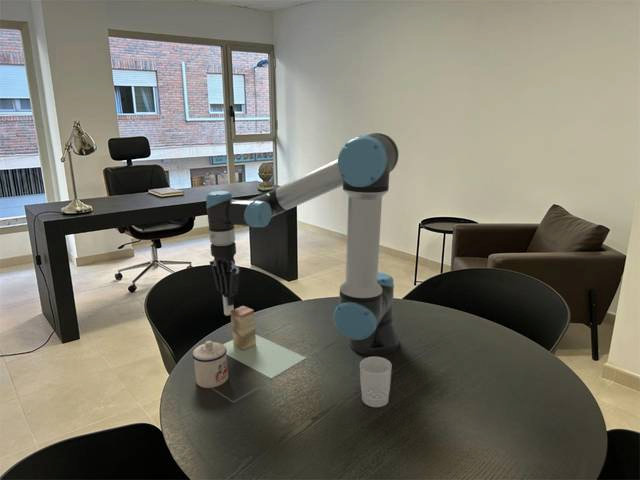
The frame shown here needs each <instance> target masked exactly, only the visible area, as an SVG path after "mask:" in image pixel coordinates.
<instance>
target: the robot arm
mask: <svg viewBox="0 0 640 480" xmlns="http://www.w3.org/2000/svg"><path fill="white" fill-rule="evenodd" d="M398 161H399V150H398V146H397V144H396V142H395V140H394V139H393V138H392V137H390V136H389V135H387V134H383V133H380V132H376V133H369V134H364V135H358V136H356V137H353V138H352V139H350V140H349V141H347V142H346V143H345V144H344V145H343V146H342V147H341V150H340V151H339V153H338V157H337V159H335V160H333V161H331V162H329V163H327V164H324V165H322V166H320V167H317V168H316V169H314V170H312V171H310V172H307V173H306V174H303V175H302V176H301V175H300V176H299V177H298V178H295V179H293V180H291V181H289V182H287V183H285V184H283V185H280V186H279V187H277V188H273V189H271V190H270V191H268V192H265V193H263V194H260V195H257V196H255V197H251V198H250V199H234V198H233V196H232V195H233V194H232V192H230V191H227V190H217V191H211V192H208V193H207V194H206V196H205V197H206V208H205V209H206V215H207V221H208V231H209V242H210V245H209V246H210V255H211V256H212V257H213V260H210V261H209V264H210V267H211V270H212V275H213V278H214V284H215V287H216V290H217V292H220V294H221V297H222V304H223V314H224V316H231V312H230V311H232V310H234V309H235V308H234V304H235V303H234V301H235V300H234V296H235V295H237V294H238V292H239V282H240V274H241V271H242V269H241V268H242V267H240V266H237V265H236V260H235V258H234V257H235V255H236V254H237V247H236V246H237V245H236V242H235V241H236V232H235V226H242V227H251V228H265V227H267V226H268V225H269V222H271V219H272V218H273V217H275V216H277V215H280V214H282V213H284V212H287V211H288V210H291V209H293V208H295V207H297V206H300V205H302V204H304V203H307V202H308V201H311V200H313V199H317V197H320V196H322V195H325V194H327V193H329V192H332V191H334V190H337V189H338V188H340V187H342V190H343V192H344V193H345V194H346V195H347V196H348V201H347V203H348V204H347V228H346V229H347V231H346V255H345V257H346V260H345V262H346V263H345V281H343V282H342V283H341V284H340V286H339V298H338V299H339V301H338V305H337V306H336V307H335V310H334V311H333V323H334V326H335V327H336V330H338V331H339V332H340V333H341V335H343V336H345V338H349V339H348V341H349V347H350V349H352V350H353V351H354V352H356V353H359V354H362V355H365V356H370V357H381V356H385V355H388V354H391V353H393V352H395V351H396V350H397V349H398V345H399V336H398V333H397V331H396V328H395V324H394V321H393V320H394V319H393V318H394V287H395V285H394V278H393V276H391V275H390V274H388V273H385V272H379V258H380V257H379V256H380V255H379V254H380V240H381V239H380V238H381V225H382V224H381V221H382V205H383V204H382V201H383V197H384V195H385V194H387V193H388V192H389V187H390V173H391V172H392V171H393V170H394V169H395V168H396V166H397V164H398Z"/></svg>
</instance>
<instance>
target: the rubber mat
mask: <svg viewBox="0 0 640 480" xmlns="http://www.w3.org/2000/svg"><path fill="white" fill-rule="evenodd" d="M255 336H256V345H255V346H253V347H251V348H249V349H247V350H245V351H242V350H240V349H238V348H236V347H234V346H233V339H231V340H229V341H227V342H225V343H223V345H224V346H225V347H226V349H227V352H226V356H229V357H230V358H232V359H234V360H235V361H237V362H240V363H242V364H244V365H245V366H248V368H250V369H253V370H255V371H257V372H258V373H260V374H262V375H263V376H266V377H268V378H269V379H270V380H271V381H272V380H273V379H275V378H276V377H278V376H280V375H282V374H283V373H285V372H287V371H288V370H290V369H291V368H293V367H295V366H297V365H300V363H302V362H304V361H306V360H307V357H306V356H304V355H301V354H299V353H297V352H295V351H292V350H290V349H288V348H286V347H284V346H282V345H279V344H277V343H275V342H273V341H271V340H269V339H267V338H264V337H262V336H260V335H258V334H256V333H255Z"/></svg>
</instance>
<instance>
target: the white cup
mask: <svg viewBox="0 0 640 480" xmlns="http://www.w3.org/2000/svg"><path fill="white" fill-rule="evenodd" d="M392 366H393V365H392V363H391V361H390V360H388V359H387V358H385V357H381V356H368V357H364V358H363V359H362V360H361V361H359V377H360V389H361V400H362V403H364V404H365V405H366V406H368V407H371V408H381V407H384V406H386V405H387V404H388V403H389V399H390V398H389V397H390V392H391V381H392Z"/></svg>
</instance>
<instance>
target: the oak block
mask: <svg viewBox="0 0 640 480" xmlns="http://www.w3.org/2000/svg"><path fill="white" fill-rule="evenodd" d="M230 312H231V314H230V321H231V322H230V323H231V332H232V333H231V334H232V340H233V346H234V347H236V348H238V349H240V350H242V351H245V350H247V349H249V348H251V347H253V346H255V345H256V336H255V334H256V324H255V323H256V322H255V310H254V309H253V308H250V307H248V306H245V305H241V306H239V307H237V308H234V310H232V311H230Z"/></svg>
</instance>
